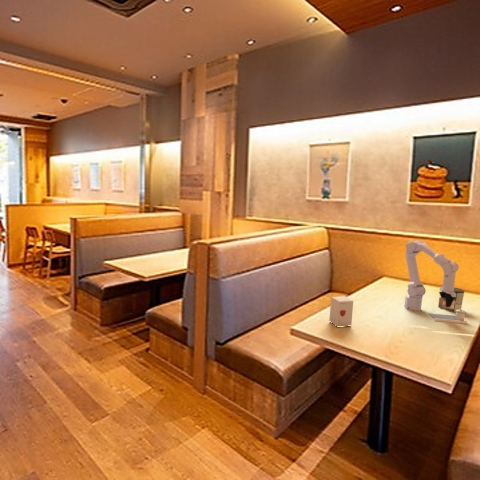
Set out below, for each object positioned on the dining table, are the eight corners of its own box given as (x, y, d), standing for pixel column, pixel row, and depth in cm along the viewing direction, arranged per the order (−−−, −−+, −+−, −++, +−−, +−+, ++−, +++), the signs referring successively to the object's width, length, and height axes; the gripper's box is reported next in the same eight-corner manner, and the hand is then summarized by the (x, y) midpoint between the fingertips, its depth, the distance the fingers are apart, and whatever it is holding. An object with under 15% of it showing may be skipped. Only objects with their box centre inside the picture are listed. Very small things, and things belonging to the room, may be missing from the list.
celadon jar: (456, 321, 208) (457, 310, 207) (453, 318, 213) (454, 307, 212) (465, 322, 208) (467, 311, 207) (462, 319, 212) (463, 308, 211)
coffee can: (444, 311, 227) (448, 289, 225) (440, 307, 237) (443, 286, 235) (463, 314, 224) (466, 292, 222) (458, 309, 234) (461, 288, 232)
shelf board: (434, 322, 209) (435, 318, 209) (428, 314, 222) (428, 311, 222) (466, 325, 206) (466, 321, 206) (457, 317, 219) (458, 314, 218)
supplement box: (337, 328, 196) (339, 301, 194) (328, 322, 205) (330, 296, 203) (351, 326, 199) (353, 300, 197) (343, 321, 207) (344, 295, 205)
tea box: (441, 309, 210) (442, 299, 209) (438, 307, 214) (439, 297, 213) (454, 309, 209) (455, 299, 208) (450, 307, 213) (451, 297, 212)
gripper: (435, 279, 217) (433, 301, 219) (448, 285, 202) (445, 309, 204) (447, 279, 216) (445, 301, 218) (461, 286, 202) (458, 309, 204)
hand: (446, 305), depth 211 cm, fingers closed on tea box, 4 cm apart
